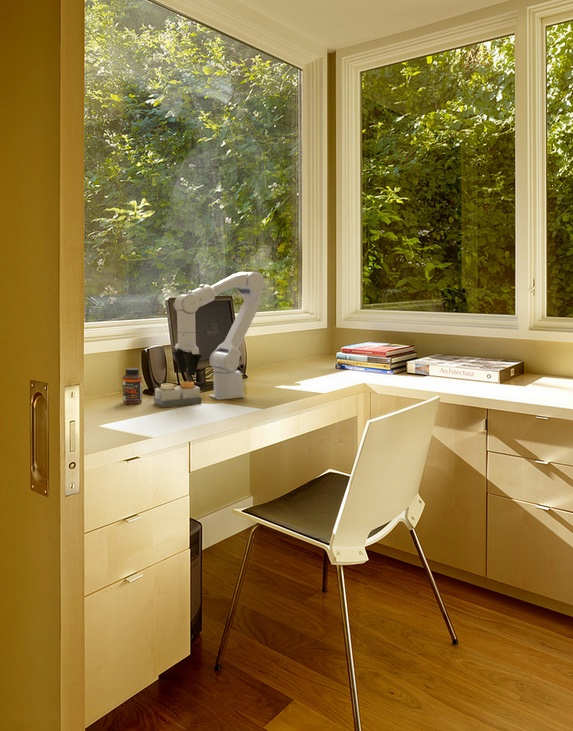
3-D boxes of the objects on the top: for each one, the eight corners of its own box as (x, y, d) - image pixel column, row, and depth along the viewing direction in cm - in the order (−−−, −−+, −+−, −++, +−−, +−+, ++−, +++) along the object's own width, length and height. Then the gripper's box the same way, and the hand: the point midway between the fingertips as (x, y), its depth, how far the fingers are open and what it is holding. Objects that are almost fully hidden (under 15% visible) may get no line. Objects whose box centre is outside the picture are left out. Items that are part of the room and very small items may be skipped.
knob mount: (191, 399, 208) (191, 384, 207) (201, 403, 201) (201, 388, 201) (154, 403, 201) (153, 387, 200) (163, 407, 194) (162, 392, 194)
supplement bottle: (123, 405, 197) (122, 370, 196) (122, 401, 203) (122, 367, 201) (142, 404, 199) (141, 369, 197) (141, 401, 205) (141, 367, 203)
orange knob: (190, 387, 205) (190, 380, 205) (195, 389, 202) (195, 382, 201) (179, 388, 203) (179, 381, 203) (184, 390, 200) (184, 383, 199)
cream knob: (170, 389, 201) (170, 382, 201) (175, 391, 198) (175, 384, 198) (159, 390, 199) (158, 383, 199) (163, 392, 196) (163, 385, 196)
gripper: (166, 330, 204) (167, 371, 206) (183, 334, 192) (184, 378, 194) (186, 329, 207) (187, 370, 209) (204, 333, 195) (205, 376, 197)
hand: (187, 373), depth 202 cm, fingers open, 7 cm apart
